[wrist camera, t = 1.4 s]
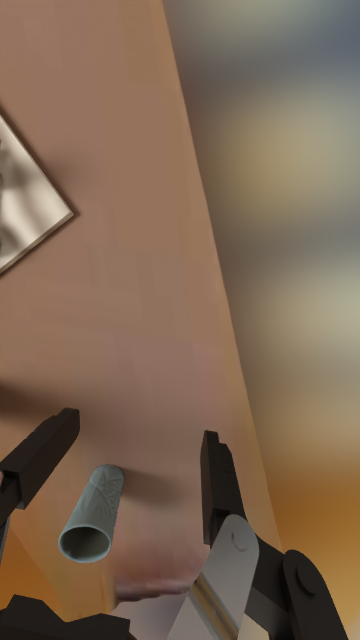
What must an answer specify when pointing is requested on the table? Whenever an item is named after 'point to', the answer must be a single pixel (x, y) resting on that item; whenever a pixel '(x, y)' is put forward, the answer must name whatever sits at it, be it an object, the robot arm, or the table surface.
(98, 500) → the grey cup
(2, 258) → the dial plate
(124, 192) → the table surface
